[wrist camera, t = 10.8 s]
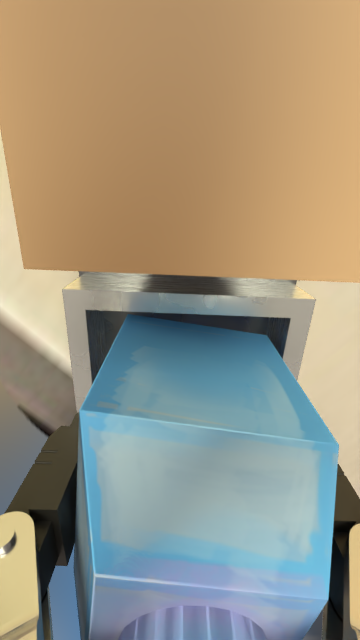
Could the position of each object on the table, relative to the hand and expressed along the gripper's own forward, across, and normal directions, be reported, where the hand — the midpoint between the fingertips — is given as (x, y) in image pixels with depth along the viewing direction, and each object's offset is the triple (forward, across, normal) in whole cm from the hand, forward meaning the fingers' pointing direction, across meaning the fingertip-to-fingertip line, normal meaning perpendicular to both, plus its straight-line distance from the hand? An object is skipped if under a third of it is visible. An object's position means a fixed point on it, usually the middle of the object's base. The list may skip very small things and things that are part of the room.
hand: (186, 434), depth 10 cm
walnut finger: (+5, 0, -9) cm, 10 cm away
